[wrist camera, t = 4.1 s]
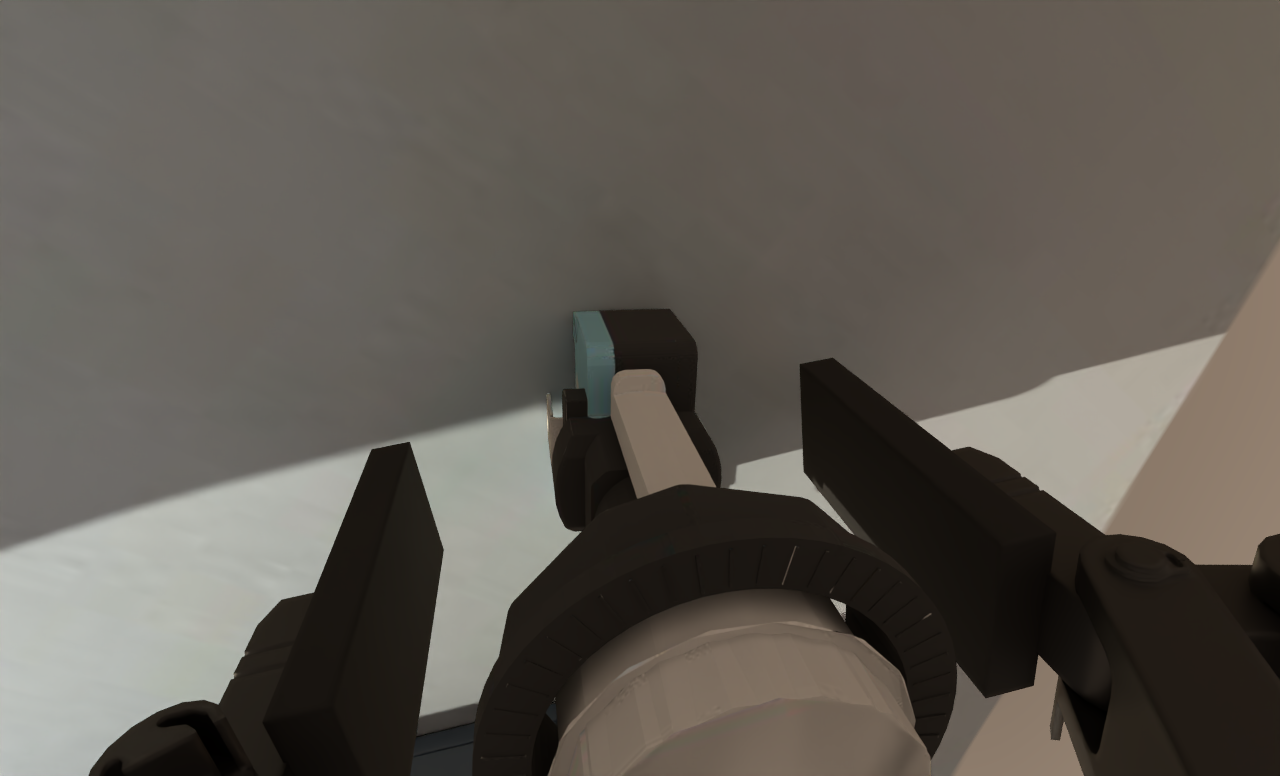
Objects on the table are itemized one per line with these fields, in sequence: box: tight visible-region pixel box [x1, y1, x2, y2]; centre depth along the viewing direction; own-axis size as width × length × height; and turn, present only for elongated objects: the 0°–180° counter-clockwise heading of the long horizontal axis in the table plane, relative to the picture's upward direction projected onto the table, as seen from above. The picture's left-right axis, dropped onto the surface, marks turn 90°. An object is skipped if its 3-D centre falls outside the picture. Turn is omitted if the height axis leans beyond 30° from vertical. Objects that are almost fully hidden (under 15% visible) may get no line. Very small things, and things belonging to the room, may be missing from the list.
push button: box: [472, 309, 957, 776], centre depth 11 cm, size 7×5×10 cm
